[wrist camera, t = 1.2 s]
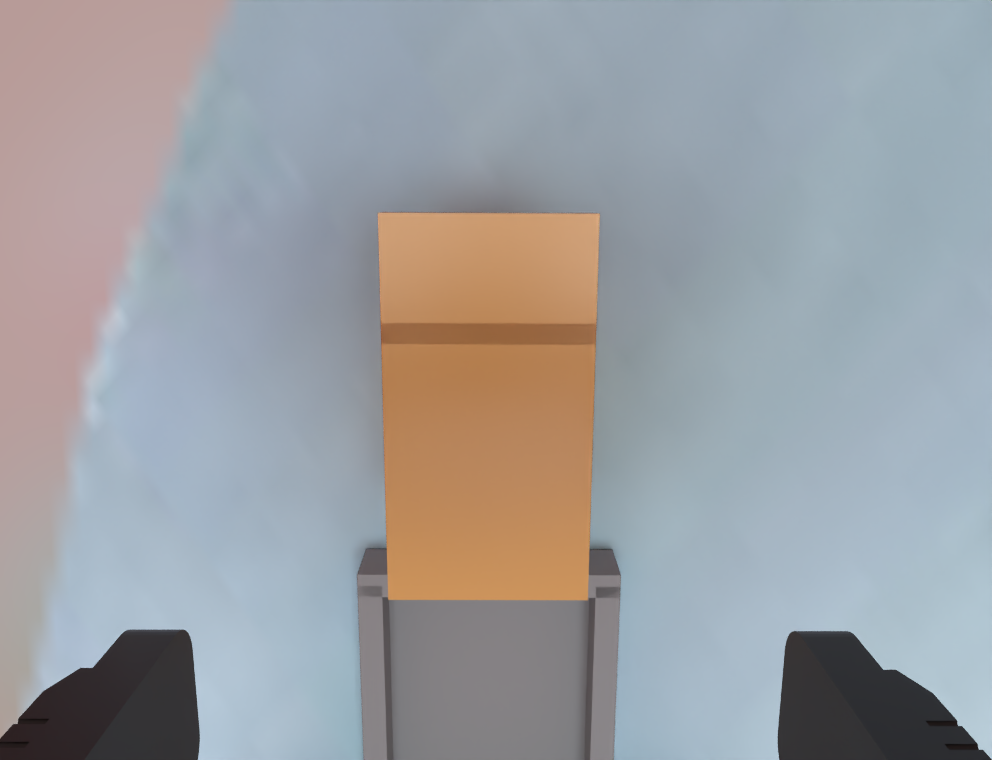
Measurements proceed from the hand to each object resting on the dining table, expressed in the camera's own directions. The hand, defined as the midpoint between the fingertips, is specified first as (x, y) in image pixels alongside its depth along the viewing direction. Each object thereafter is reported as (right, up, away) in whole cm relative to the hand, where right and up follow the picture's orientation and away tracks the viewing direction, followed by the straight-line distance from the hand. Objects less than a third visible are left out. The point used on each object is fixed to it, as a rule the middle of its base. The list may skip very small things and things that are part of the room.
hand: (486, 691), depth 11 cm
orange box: (0, +5, +16) cm, 17 cm away
